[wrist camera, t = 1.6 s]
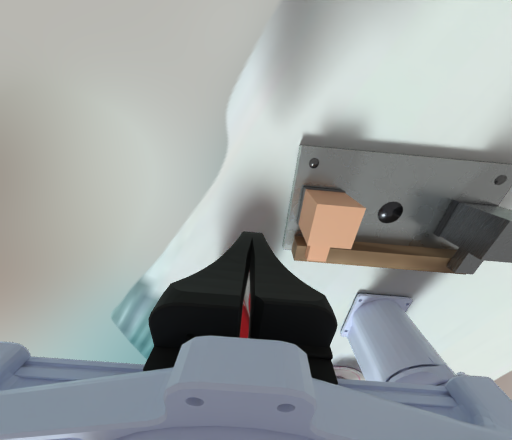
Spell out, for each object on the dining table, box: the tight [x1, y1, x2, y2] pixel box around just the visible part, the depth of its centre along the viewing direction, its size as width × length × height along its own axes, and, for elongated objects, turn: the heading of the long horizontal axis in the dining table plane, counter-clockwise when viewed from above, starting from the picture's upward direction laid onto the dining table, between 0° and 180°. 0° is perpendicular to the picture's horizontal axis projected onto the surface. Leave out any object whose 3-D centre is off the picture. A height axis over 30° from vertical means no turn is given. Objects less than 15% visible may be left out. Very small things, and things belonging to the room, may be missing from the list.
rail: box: [292, 236, 464, 274], centre depth 22 cm, size 2×20×2 cm, turn 85°
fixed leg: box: [434, 200, 512, 274], centre depth 19 cm, size 7×4×5 cm, turn 175°
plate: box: [283, 145, 512, 250], centre depth 21 cm, size 12×22×1 cm, turn 85°
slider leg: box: [296, 187, 366, 262], centre depth 19 cm, size 7×4×5 cm, turn 175°
